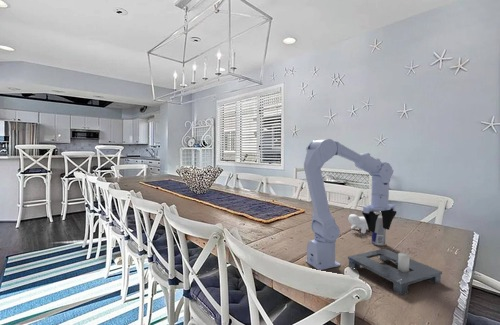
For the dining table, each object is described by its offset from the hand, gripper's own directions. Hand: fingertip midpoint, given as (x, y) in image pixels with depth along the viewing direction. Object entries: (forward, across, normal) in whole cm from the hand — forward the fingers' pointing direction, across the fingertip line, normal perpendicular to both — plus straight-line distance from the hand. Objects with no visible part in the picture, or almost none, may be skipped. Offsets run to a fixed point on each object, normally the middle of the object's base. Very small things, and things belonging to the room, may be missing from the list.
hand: (379, 230), depth 97 cm
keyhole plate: (+10, -7, -11) cm, 17 cm away
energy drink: (+11, +12, +10) cm, 19 cm away
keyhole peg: (+10, -7, -15) cm, 20 cm away
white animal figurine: (+11, +20, +27) cm, 35 cm away
